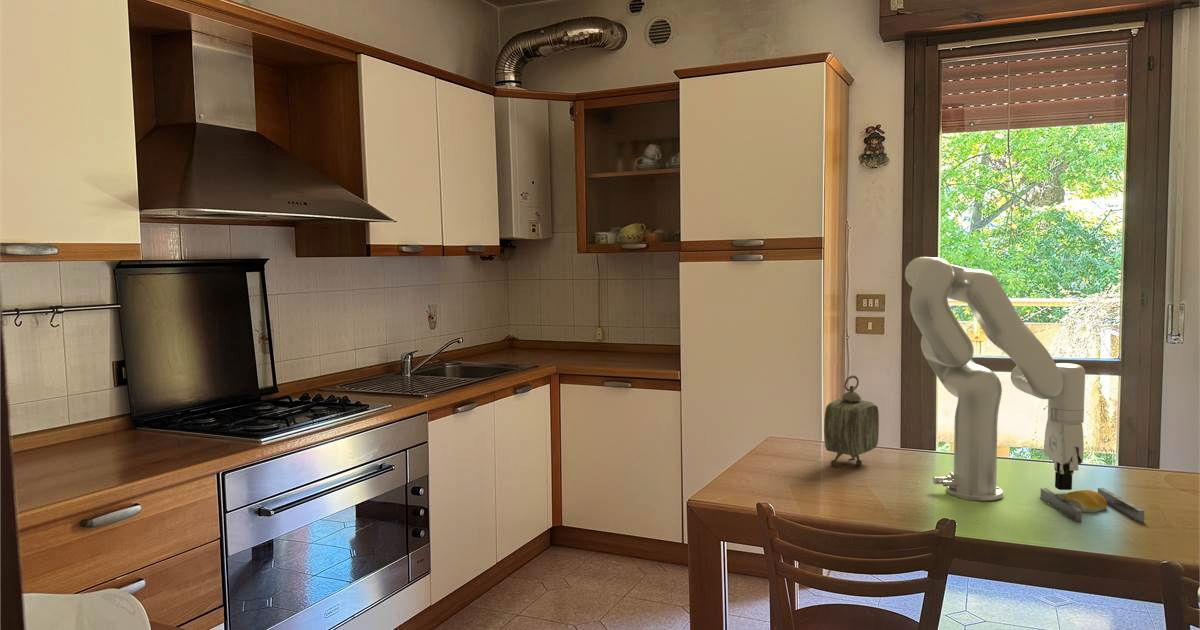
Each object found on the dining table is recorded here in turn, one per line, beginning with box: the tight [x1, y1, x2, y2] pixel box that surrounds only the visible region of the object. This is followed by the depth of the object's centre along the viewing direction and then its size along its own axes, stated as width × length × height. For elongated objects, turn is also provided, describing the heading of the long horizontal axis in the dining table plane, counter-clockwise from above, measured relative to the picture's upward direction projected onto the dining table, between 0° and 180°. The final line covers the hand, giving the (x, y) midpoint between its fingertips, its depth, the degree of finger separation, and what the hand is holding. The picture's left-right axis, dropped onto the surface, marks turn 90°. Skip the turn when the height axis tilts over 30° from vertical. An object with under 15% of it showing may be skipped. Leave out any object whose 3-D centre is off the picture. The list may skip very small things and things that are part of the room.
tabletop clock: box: [823, 375, 880, 467], centre depth 223 cm, size 14×9×25 cm, turn 133°
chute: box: [1039, 487, 1145, 523], centre depth 183 cm, size 14×16×2 cm
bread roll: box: [1061, 489, 1108, 513], centre depth 185 cm, size 8×9×4 cm
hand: (1063, 488), depth 195 cm, fingers closed
